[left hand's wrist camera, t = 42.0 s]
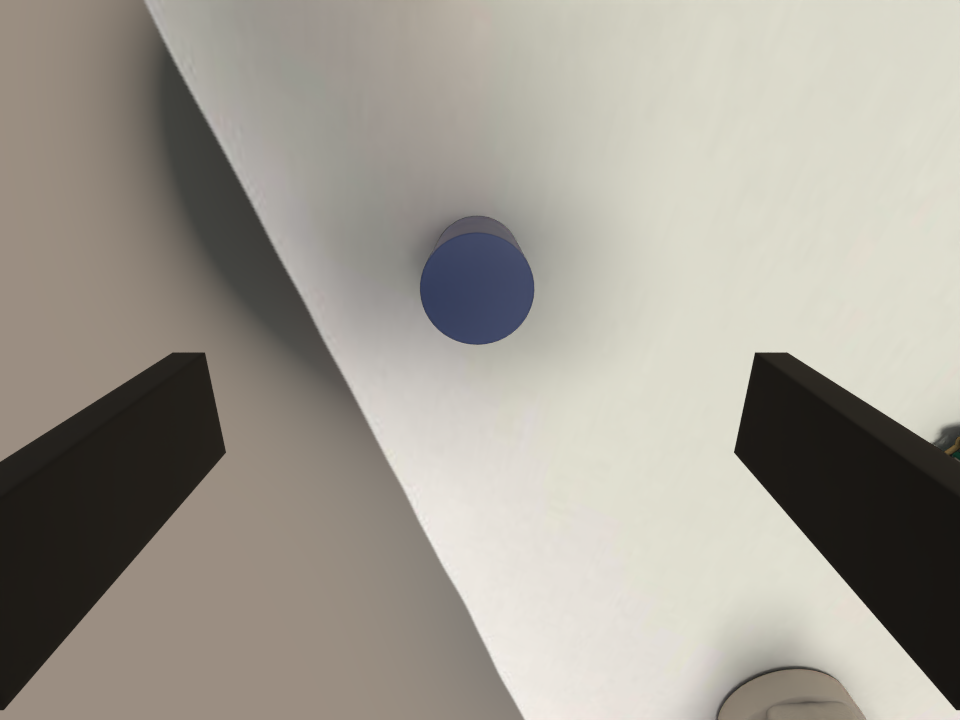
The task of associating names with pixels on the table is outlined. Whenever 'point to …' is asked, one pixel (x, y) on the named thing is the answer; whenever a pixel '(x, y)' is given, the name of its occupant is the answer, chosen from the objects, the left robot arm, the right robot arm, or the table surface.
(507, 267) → the canister
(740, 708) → the bust sculpture
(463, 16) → the table surface
